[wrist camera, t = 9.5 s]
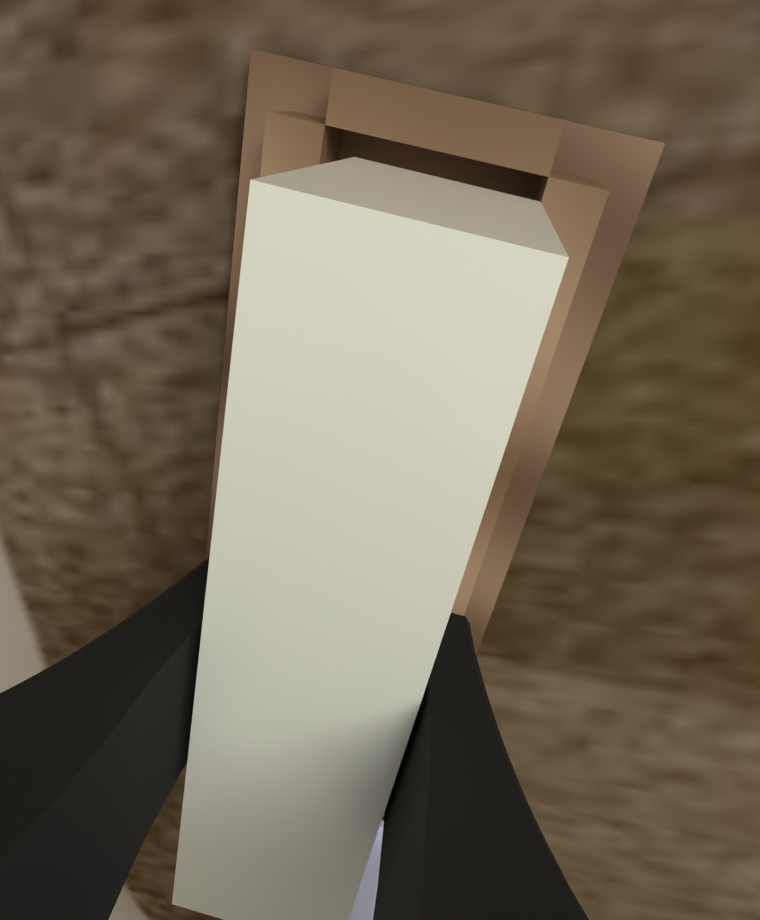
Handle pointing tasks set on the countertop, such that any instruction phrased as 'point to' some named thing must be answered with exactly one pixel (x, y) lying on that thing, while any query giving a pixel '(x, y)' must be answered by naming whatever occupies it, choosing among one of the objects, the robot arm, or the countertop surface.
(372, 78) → the tray
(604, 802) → the countertop surface
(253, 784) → the clay strip
